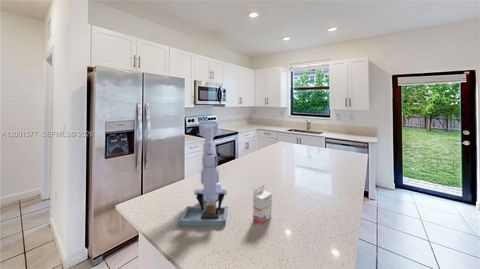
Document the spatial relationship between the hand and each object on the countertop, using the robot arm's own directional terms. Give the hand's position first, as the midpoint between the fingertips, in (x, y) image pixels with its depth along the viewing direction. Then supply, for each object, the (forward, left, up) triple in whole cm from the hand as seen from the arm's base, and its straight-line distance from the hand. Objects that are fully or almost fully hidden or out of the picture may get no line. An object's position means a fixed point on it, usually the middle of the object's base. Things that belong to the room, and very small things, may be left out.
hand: (211, 209), depth 96 cm
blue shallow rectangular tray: (+2, -2, -4) cm, 5 cm away
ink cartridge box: (-15, +18, -5) cm, 24 cm away
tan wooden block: (0, 0, -4) cm, 4 cm away
